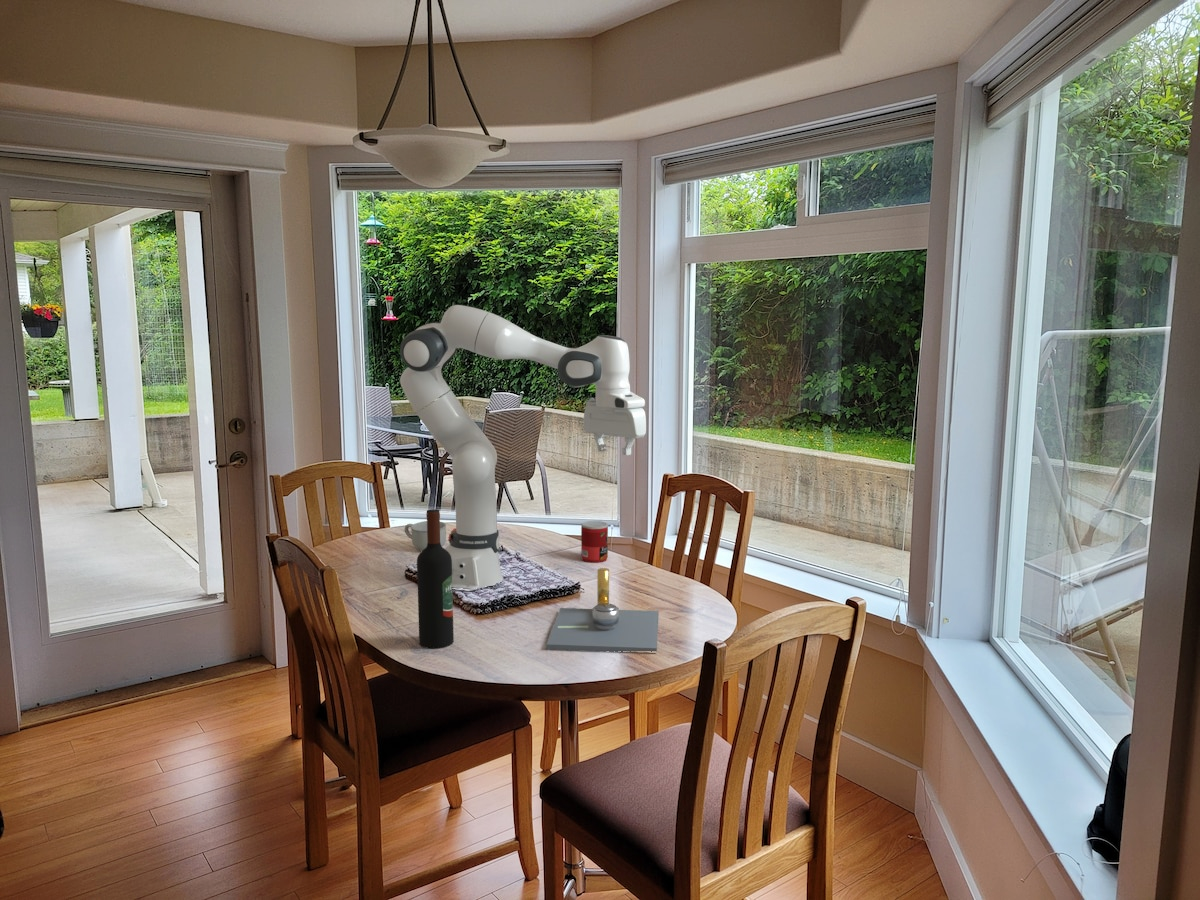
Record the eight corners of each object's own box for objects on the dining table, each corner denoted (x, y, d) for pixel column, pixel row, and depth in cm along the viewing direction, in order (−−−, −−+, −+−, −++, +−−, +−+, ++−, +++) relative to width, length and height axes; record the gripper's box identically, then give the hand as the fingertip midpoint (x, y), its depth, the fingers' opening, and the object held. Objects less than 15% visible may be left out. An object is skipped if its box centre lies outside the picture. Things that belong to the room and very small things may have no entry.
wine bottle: (421, 636, 194) (417, 507, 189) (455, 635, 194) (452, 506, 190) (417, 649, 186) (413, 514, 182) (452, 648, 187) (449, 514, 182)
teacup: (453, 548, 269) (453, 523, 268) (429, 556, 260) (428, 530, 259) (421, 542, 277) (420, 518, 275) (396, 549, 268) (395, 524, 266)
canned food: (605, 563, 252) (605, 527, 251) (578, 562, 254) (578, 526, 252) (609, 556, 260) (610, 521, 258) (584, 555, 261) (584, 520, 260)
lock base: (546, 649, 186) (546, 639, 186) (560, 612, 210) (560, 604, 210) (656, 653, 184) (656, 643, 184) (658, 615, 208) (658, 607, 208)
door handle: (619, 625, 194) (619, 587, 193) (593, 626, 194) (593, 587, 192) (615, 603, 209) (615, 568, 208) (590, 603, 209) (590, 568, 208)
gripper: (577, 398, 223) (578, 450, 225) (631, 402, 208) (632, 458, 210) (595, 396, 227) (596, 447, 229) (649, 400, 212) (650, 455, 214)
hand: (614, 452), depth 220 cm, fingers open, 8 cm apart
